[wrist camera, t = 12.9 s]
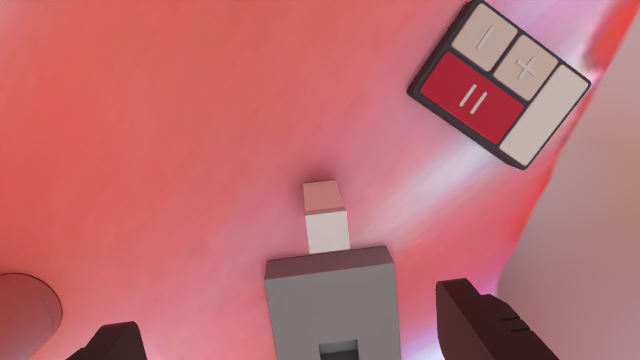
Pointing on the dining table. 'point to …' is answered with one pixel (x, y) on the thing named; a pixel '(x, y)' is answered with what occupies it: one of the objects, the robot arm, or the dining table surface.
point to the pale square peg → (325, 217)
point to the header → (334, 306)
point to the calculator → (498, 85)
